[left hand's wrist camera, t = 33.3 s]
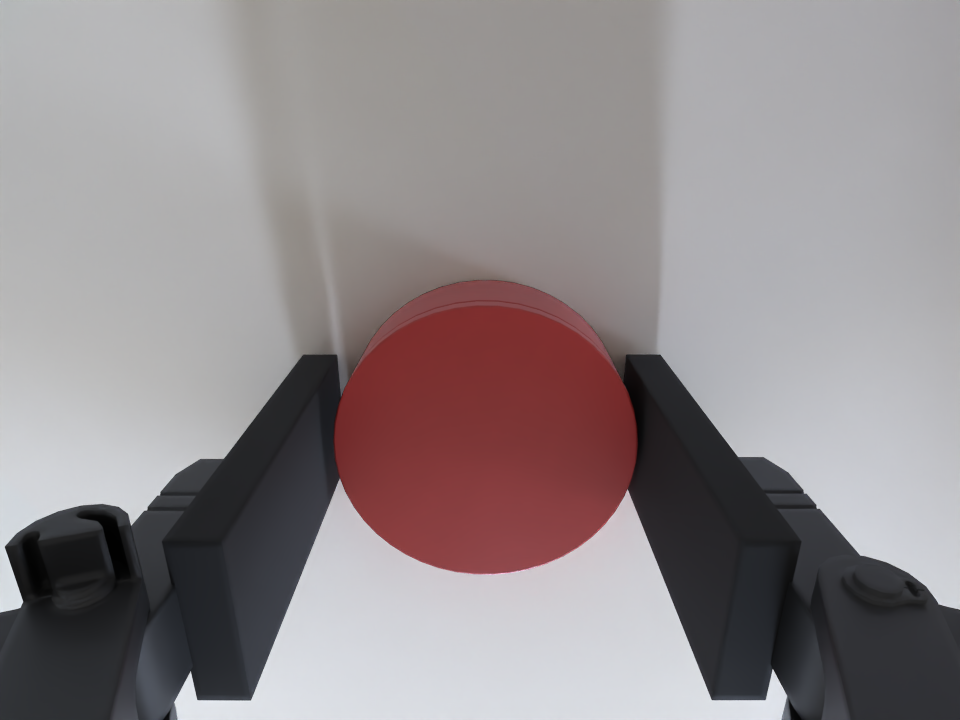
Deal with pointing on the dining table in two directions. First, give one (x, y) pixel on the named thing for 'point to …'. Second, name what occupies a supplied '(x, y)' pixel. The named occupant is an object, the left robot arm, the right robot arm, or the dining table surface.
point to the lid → (485, 429)
